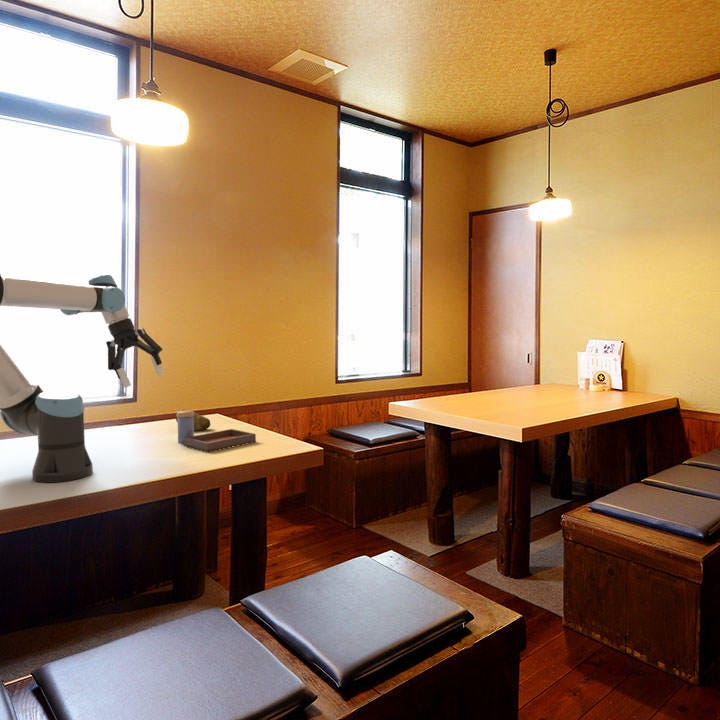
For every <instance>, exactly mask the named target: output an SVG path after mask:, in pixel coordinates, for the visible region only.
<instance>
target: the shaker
mask: <svg viewBox="0 0 720 720" xmlns="http://www.w3.org/2000/svg"><path fill="white" fill-rule="evenodd" d="M176 414H177V421H176V422H178V423H177V443H178V444H179V443H182V444H181V445H184V438H185V437H191V436H195V431H194V410H190V411H181V410H179V411H176Z"/></svg>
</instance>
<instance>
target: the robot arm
mask: <svg viewBox="0 0 720 720" xmlns="http://www.w3.org/2000/svg"><path fill="white" fill-rule="evenodd" d="M125 304H126V295H125V292H124V291H123V290H122V289H121V288H119V287H118V285H117V284H116V281H115V280H114V278H113V276H112V275H111V274H109V273H108V274H107V273H105V274H101V275H98V276H95V277H91V278H90V279H89V280H88V284H78V283H71V282H61V281H51V280H43V279H33V278H22V277H15V276H6V275H5V276H4V275H2V274H1V273H0V307H1V306H3V307H18V308H35V309H36V308H38V309H50V310H51V309H53V310H55V309H56V310H60V311H61V312H62V314H64V315H65V316H72V315H77V314H82V313H101V315H102V316H103V319H104V321H105V324H107V328H108V330H109V332H110V334H111V336H112V338H113V339H111V340H106V343H105V345H106V346H107V369H108V370H109V371H114V372H115V374H116V376H117V378H118V380H120V381H121V383H122V385H123V387H124V388H128V387H130V386H132V383H131V382H130V380H129V377H128V374H127V373H126V371H125V368H124V367H122V364H123V360H124V355H125V351H126V350H127V349H130V348H133V347H137V348H139V349H140V350H142V351H143V352H146V353H147V354H148V355H150V356H151V357H150V360H151V363H152V366H153V368H154V370H155V372H156V374H157V376H158V377H160V376H161V375H164V374H165V371H164V369H163V367H162V364H163V362H162V360H161V356H160V353H161V352H162V351H163V348H162V347H161V345H159V344H158V343H157V342H156V341H155V340H154V339H153V338H152V337H151V336H149V334H148V333H147V331H146V329H145V328H143V327H141V328H139V329H137V330H135V326H134V323H133V321H132V319H131V318H129V317H130V314H129V312H128V309H127V307H126V305H125ZM138 337H139V338H138ZM141 339H142V340H141ZM143 341H144V342H143ZM116 345H117V347H116ZM84 411H85V406H84V402H83V397H82V396H81V395H80V394H79V393H76V392H72V391H68V390H67V391H66V390H65V391H64V390H52V391H51V390H50V391H43V389H42V388H41V387H40V385H39V384H38V383H37V381H34V380H33V381H32V380H28V379H27V378H26V377H25V375H24V374H23V373H22V371H21V370H20V369H19V367H18V366H17V365H16V363H15V362H14V361H13V359H12V358H11V357H10V356H9V354H8V353H7V352H6V350H5V349H4V348H3V346H2V345H1V344H0V417H1V420H2V421H3V423H4V425H5V426H6V427H8V428H9V429H11V430H12V431H14V432H15V433H19V434H23V435H25V434H26V435H33V436H37V444H38V447H37V448H38V449H37V450H38V451H37V455H36V458H35V461H34V466H33V468H32V473H31V474H32V480H33V481H34V480H35V482H37V481H38V483H62V482H69V481H75V480H79V479H82V478H83V479H84V478H85V477H88V476H90V475H91V474H92V473H93V471H94V470H93V466H94V465H93V462H92V460H91V458H90V455H89V453H88V451H87V448H86V442H85V441H86V440H85V438H86V437H85V422H84V421H85V418H84V416H85V414H84Z"/></svg>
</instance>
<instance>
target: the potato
mask: <svg viewBox="0 0 720 720" xmlns="http://www.w3.org/2000/svg"><path fill="white" fill-rule="evenodd" d="M180 411H191V409H190V410H189V409H182V410H180ZM175 421H176V422H177V413H176V414H175ZM177 424H178V422H177ZM210 427H211V420H210V419H209V418H208V417H205V415H204V416H203V415H201V414H198V413H196V412H194V432H196V431H197V430H200V431H203V430H208V429H209V428H210Z"/></svg>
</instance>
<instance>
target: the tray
mask: <svg viewBox="0 0 720 720" xmlns="http://www.w3.org/2000/svg"><path fill="white" fill-rule="evenodd" d="M256 437H257V434H256V433H253V432H248V431H244V430H239V429H236V428H235V429H234V428H230V429H224V430H218V431H214V432H208V433H203V434H197V435H194V436H191V437H185V438H184V444H183V447H185V446H187V447H186V448H188V447H191V448H190V449H192V448H194V449H193V450H196V449H198V450H197V451H200V450H202V451H201V452H204V451H206V452H205V453H207V452H208V453H211V452H210V451H213V452H215V451H214V450H217V451H220V450H219V449H222V450H224V449H223V448H226V449H229V448H228V447H231V448H233V447H232V446H236V447H238V446H237V445H240V446H243V445H242V444H245V445H247V444H246V443H250V444H252V443H251V442H254V443H256V441H257V440H256V439H257V438H256Z"/></svg>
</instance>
